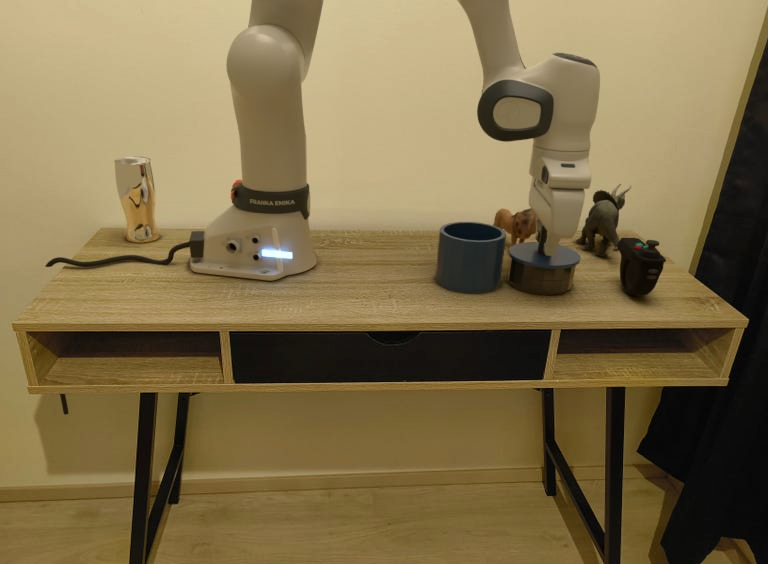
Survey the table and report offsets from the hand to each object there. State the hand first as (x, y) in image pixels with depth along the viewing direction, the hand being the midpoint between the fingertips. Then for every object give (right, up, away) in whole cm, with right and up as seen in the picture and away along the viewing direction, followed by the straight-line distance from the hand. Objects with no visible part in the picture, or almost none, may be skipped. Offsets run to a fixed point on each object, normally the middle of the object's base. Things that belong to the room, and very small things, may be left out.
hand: (544, 247), depth 115 cm
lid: (0, -1, +1) cm, 2 cm away
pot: (-13, -5, +3) cm, 14 cm away
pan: (0, -6, +3) cm, 7 cm away
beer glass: (-74, +5, +18) cm, 77 cm away
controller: (+15, -8, +1) cm, 17 cm away
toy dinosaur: (+16, +3, +21) cm, 26 cm away
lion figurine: (-1, +4, +21) cm, 21 cm away
